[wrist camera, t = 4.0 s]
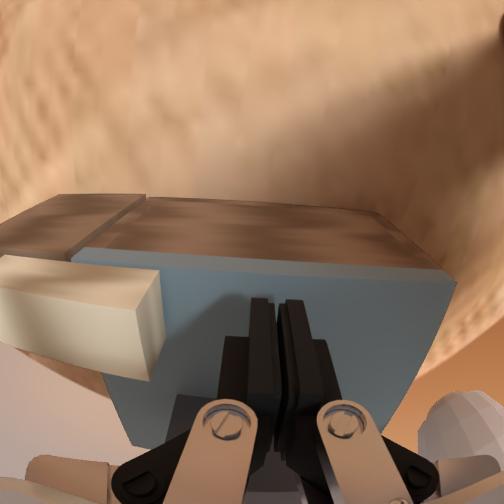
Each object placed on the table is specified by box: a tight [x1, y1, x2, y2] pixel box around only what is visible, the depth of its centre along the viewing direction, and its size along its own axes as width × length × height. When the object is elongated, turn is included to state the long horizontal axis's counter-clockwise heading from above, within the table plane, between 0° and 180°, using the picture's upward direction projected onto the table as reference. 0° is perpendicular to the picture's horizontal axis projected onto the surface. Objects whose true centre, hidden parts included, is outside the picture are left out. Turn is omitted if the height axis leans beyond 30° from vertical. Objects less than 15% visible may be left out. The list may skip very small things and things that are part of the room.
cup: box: [418, 390, 504, 471], centre depth 14 cm, size 7×7×21 cm
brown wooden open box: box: [0, 194, 444, 270], centre depth 18 cm, size 24×14×10 cm, turn 86°
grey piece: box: [71, 247, 457, 504], centre depth 12 cm, size 16×14×7 cm
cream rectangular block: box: [0, 255, 166, 382], centre depth 10 cm, size 8×3×2 cm, turn 86°
